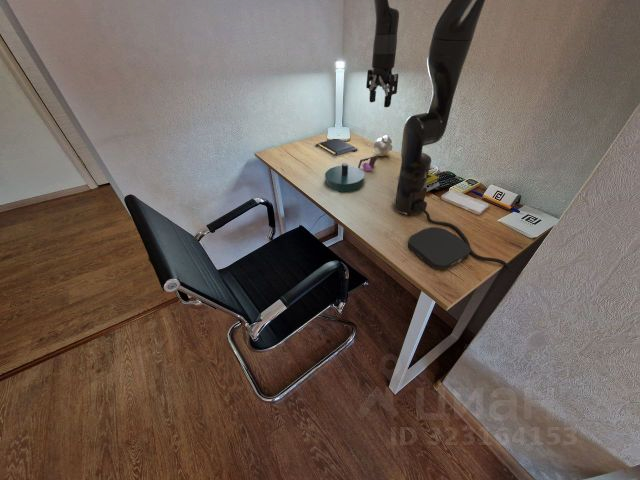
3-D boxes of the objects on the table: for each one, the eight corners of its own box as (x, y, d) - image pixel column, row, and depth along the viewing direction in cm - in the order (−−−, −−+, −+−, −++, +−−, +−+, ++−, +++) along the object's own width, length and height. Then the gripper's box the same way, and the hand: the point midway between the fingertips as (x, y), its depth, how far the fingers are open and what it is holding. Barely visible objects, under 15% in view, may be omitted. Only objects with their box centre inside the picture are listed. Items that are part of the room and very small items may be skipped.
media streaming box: (435, 229, 88) (438, 222, 86) (473, 255, 78) (477, 248, 76) (402, 244, 83) (403, 237, 81) (438, 274, 73) (440, 267, 71)
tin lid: (372, 179, 110) (373, 166, 106) (338, 190, 104) (338, 178, 101) (350, 164, 121) (350, 152, 118) (318, 174, 116) (317, 162, 112)
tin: (370, 185, 112) (371, 177, 110) (338, 196, 107) (338, 188, 104) (349, 170, 123) (350, 163, 120) (319, 180, 117) (319, 173, 115)
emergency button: (427, 182, 103) (399, 169, 112) (425, 192, 106) (398, 178, 115) (443, 175, 106) (414, 163, 116) (440, 185, 109) (412, 172, 119)
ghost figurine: (386, 160, 129) (388, 140, 122) (369, 156, 133) (370, 137, 127) (394, 154, 134) (397, 134, 127) (377, 150, 139) (379, 131, 132)
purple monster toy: (376, 154, 119) (359, 158, 117) (382, 161, 117) (365, 166, 114) (372, 165, 125) (356, 170, 122) (377, 172, 123) (361, 177, 120)
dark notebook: (358, 147, 139) (334, 154, 133) (358, 150, 140) (334, 157, 135) (337, 136, 152) (315, 142, 147) (337, 139, 153) (315, 145, 148)
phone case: (488, 207, 96) (450, 192, 105) (489, 204, 95) (451, 189, 104) (478, 215, 93) (440, 199, 102) (480, 212, 92) (440, 196, 101)
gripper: (362, 50, 90) (360, 102, 101) (389, 54, 80) (383, 110, 91) (379, 48, 92) (375, 99, 103) (408, 51, 83) (400, 106, 94)
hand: (379, 104), depth 97 cm, fingers open, 8 cm apart
